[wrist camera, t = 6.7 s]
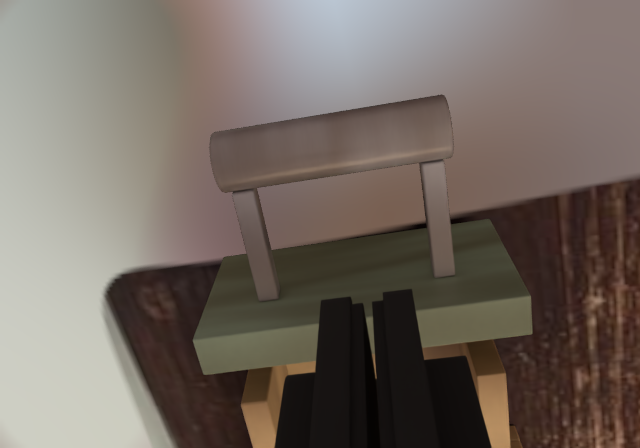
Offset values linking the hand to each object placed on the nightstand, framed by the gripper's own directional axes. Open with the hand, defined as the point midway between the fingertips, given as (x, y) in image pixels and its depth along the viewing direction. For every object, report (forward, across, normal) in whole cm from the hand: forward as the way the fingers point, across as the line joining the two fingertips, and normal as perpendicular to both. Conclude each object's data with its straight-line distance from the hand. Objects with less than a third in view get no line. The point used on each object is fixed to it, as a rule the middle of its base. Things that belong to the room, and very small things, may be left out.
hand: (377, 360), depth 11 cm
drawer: (+9, +1, +5) cm, 10 cm away
